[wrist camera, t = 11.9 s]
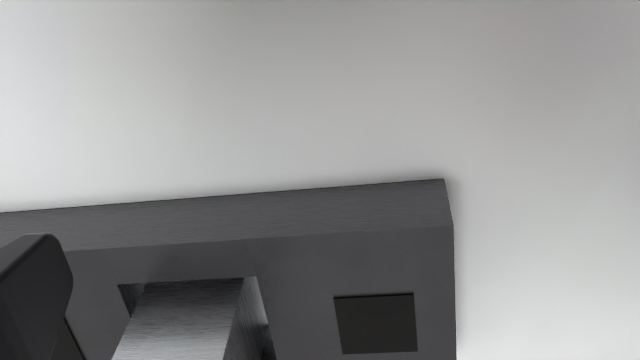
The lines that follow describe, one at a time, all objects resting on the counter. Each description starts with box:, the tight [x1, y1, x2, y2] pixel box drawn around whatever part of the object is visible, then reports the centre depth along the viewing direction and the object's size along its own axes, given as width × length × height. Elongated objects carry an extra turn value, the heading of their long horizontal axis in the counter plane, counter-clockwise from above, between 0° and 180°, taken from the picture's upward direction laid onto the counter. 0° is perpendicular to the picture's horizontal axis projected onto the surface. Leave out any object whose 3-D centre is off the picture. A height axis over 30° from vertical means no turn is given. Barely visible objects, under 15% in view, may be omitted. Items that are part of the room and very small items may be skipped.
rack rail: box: [0, 179, 456, 360], centre depth 25 cm, size 20×9×3 cm, turn 98°
